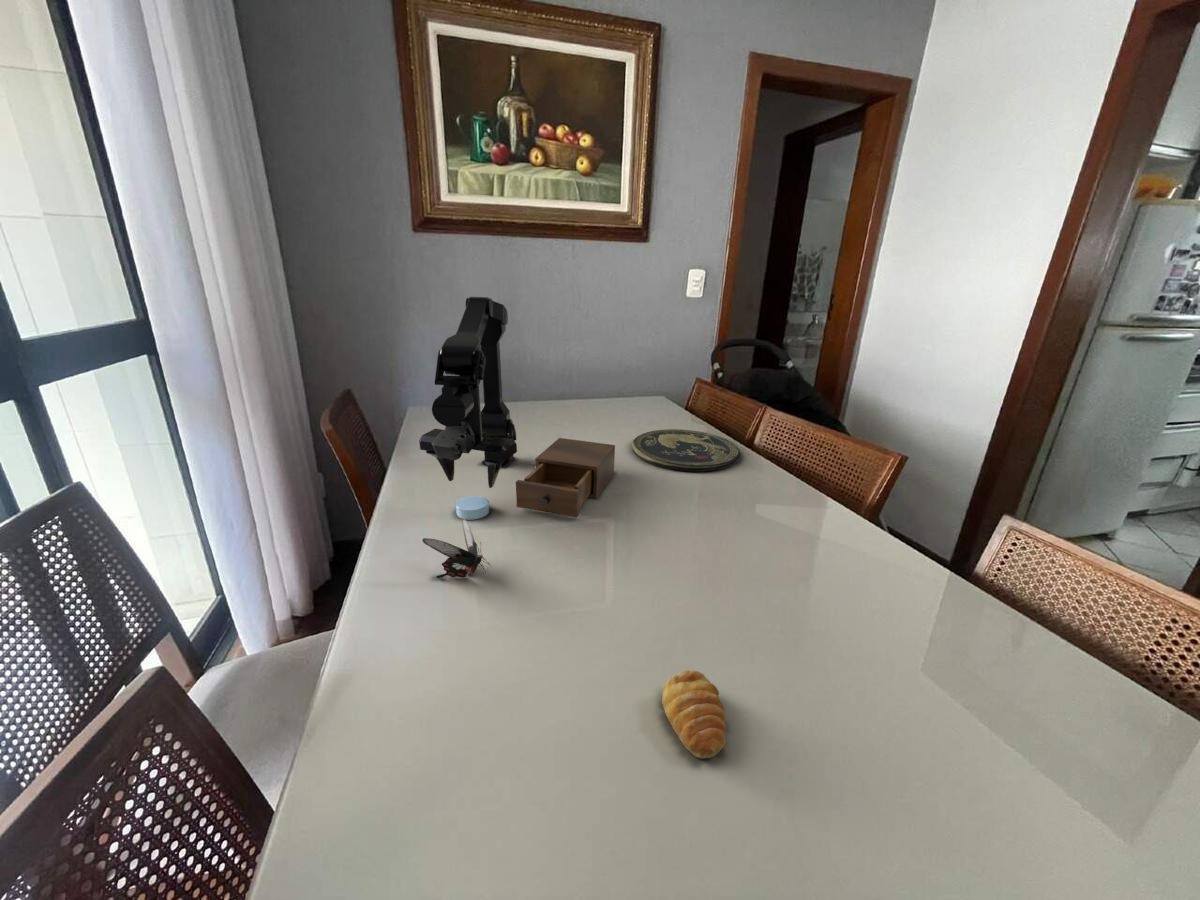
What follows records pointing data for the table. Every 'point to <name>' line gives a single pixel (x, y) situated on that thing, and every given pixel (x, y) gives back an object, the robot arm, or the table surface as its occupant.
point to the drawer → (555, 489)
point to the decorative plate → (686, 450)
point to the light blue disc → (472, 507)
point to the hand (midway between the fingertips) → (471, 483)
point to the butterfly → (458, 554)
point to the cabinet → (582, 459)
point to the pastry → (695, 713)
